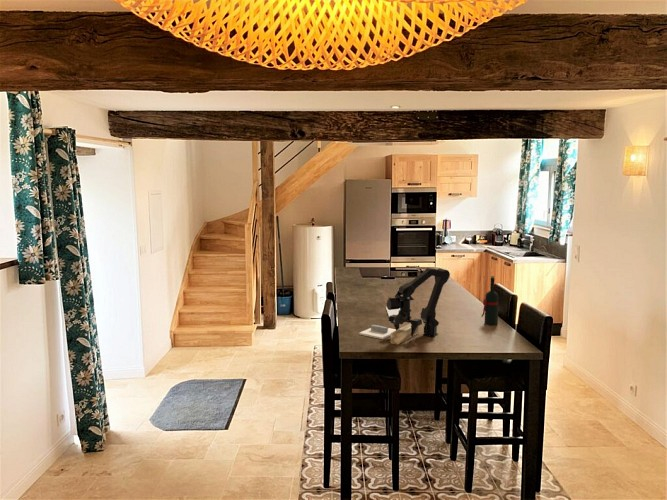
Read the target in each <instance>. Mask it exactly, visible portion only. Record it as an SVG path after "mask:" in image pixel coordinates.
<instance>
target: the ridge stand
mask: <svg viewBox="0 0 667 500" xmlns="http://www.w3.org/2000/svg"><path fill="white" fill-rule="evenodd" d="M394 331H396V329H395V328H390V327H387V326H382V325H378V324H377V325H376V324H371V325H370V327H369V328H367V329H364V330H362V331H360V332H358V333H359V334H358V335H360V336H365V337H369V338H375V339H378V340H379V339H380V340H385V339H387V338H388V337H391V333H392V332H394Z"/></svg>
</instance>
